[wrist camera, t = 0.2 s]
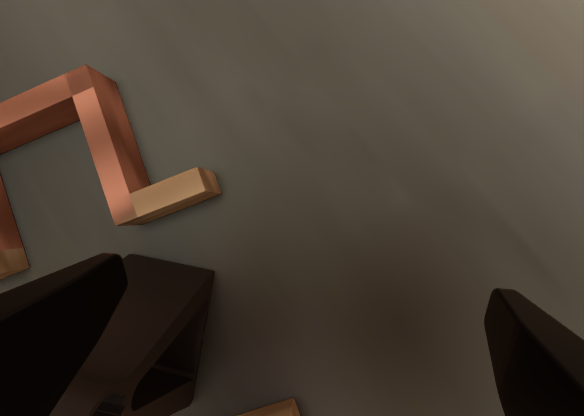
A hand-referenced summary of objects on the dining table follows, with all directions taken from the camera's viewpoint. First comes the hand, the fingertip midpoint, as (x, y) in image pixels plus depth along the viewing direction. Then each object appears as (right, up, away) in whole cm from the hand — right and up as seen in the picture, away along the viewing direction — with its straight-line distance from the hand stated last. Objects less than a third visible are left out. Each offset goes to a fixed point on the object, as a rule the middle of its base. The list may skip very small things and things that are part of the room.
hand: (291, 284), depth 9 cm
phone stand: (-9, -6, +16) cm, 19 cm away
